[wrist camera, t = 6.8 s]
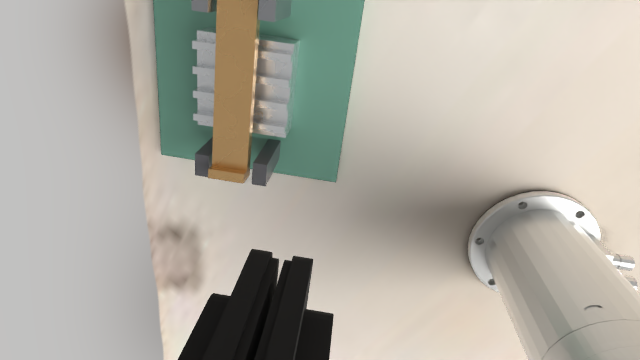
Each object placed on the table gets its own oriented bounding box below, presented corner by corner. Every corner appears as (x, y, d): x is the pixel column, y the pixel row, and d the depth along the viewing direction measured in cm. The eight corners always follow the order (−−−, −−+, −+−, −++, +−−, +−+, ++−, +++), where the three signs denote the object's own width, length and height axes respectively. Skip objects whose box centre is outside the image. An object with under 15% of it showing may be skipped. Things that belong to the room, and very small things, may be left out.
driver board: (367, -16, 34) (367, -17, 27) (336, 178, 41) (331, 212, 35) (156, -45, 34) (109, -52, 28) (165, 151, 42) (130, 179, 36)
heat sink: (305, -14, 33) (291, -14, 27) (291, 127, 39) (277, 152, 33) (209, -27, 34) (176, -30, 28) (209, 114, 39) (181, 137, 33)
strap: (261, 0, 30) (254, -1, 28) (249, 175, 35) (243, 183, 33) (221, -6, 30) (212, -7, 28) (215, 169, 35) (207, 177, 34)
